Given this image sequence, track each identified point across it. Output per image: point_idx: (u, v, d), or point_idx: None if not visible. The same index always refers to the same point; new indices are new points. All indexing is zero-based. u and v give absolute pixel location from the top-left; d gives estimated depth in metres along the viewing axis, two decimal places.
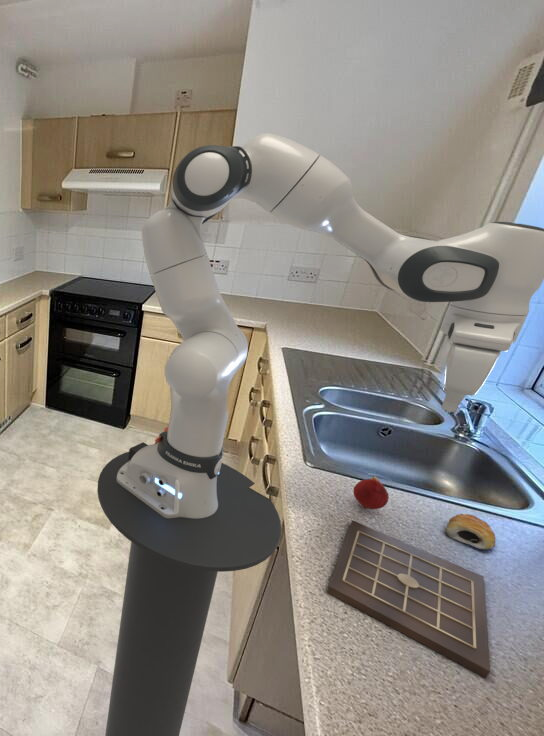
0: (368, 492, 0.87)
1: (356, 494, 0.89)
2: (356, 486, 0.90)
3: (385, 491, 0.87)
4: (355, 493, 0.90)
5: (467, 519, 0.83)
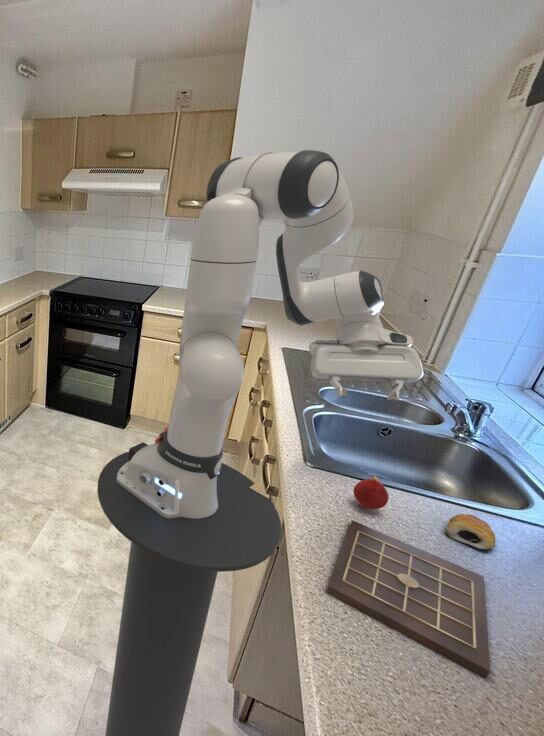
0: (368, 492, 0.87)
1: (356, 494, 0.89)
2: (356, 486, 0.90)
3: (385, 491, 0.87)
4: (355, 493, 0.90)
5: (467, 519, 0.83)
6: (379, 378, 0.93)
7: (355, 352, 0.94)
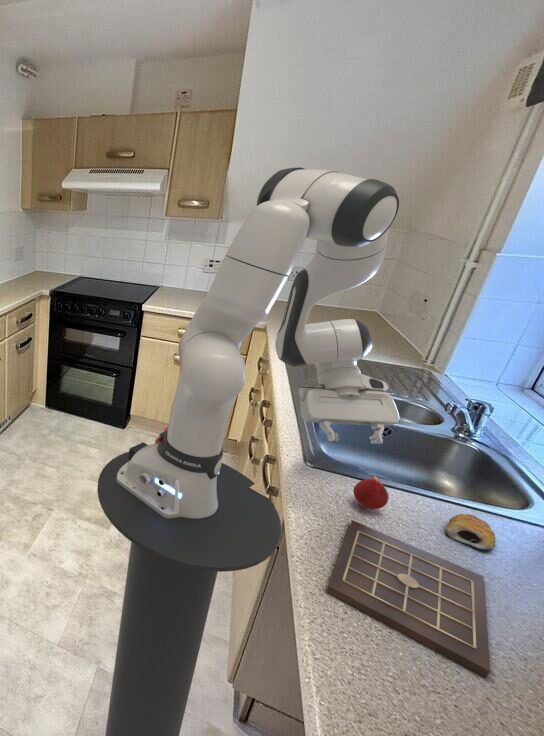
0: (368, 492, 0.87)
1: (356, 494, 0.89)
2: (356, 486, 0.90)
3: (385, 491, 0.87)
4: (355, 493, 0.90)
5: (467, 519, 0.83)
6: (360, 422, 0.97)
7: (340, 397, 0.97)
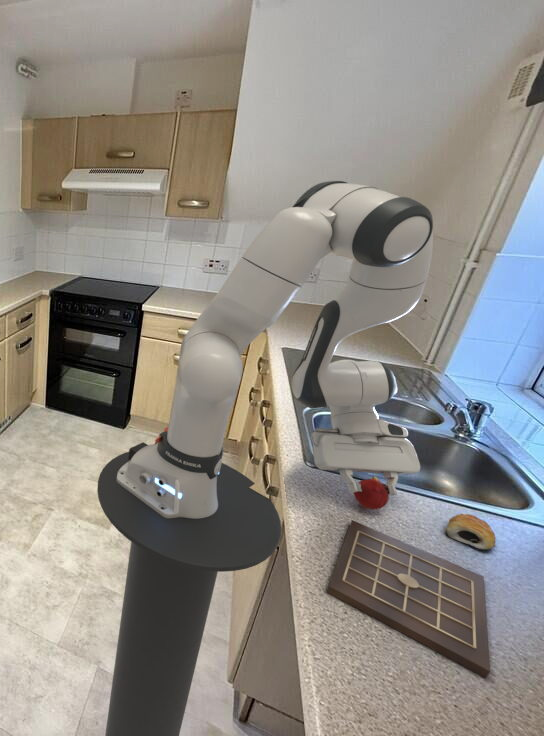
0: (368, 492, 0.87)
1: (356, 494, 0.89)
2: None
3: (385, 491, 0.87)
4: (355, 493, 0.90)
5: (467, 519, 0.83)
6: None
7: (357, 443, 0.91)
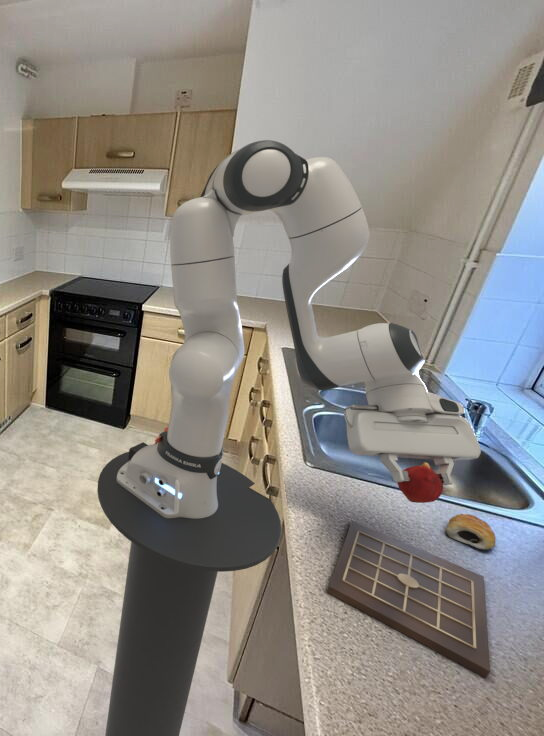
0: (418, 481, 0.70)
1: (401, 485, 0.72)
2: None
3: (439, 480, 0.70)
4: (400, 483, 0.73)
5: (467, 519, 0.83)
6: None
7: (402, 422, 0.74)
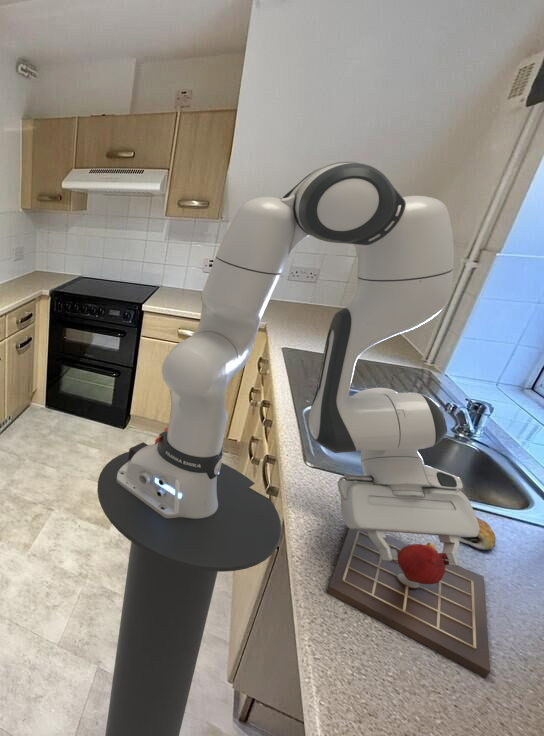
0: (422, 562, 0.68)
1: (402, 562, 0.70)
2: (403, 551, 0.70)
3: (442, 564, 0.67)
4: (401, 560, 0.70)
5: None
6: None
7: (397, 496, 0.72)
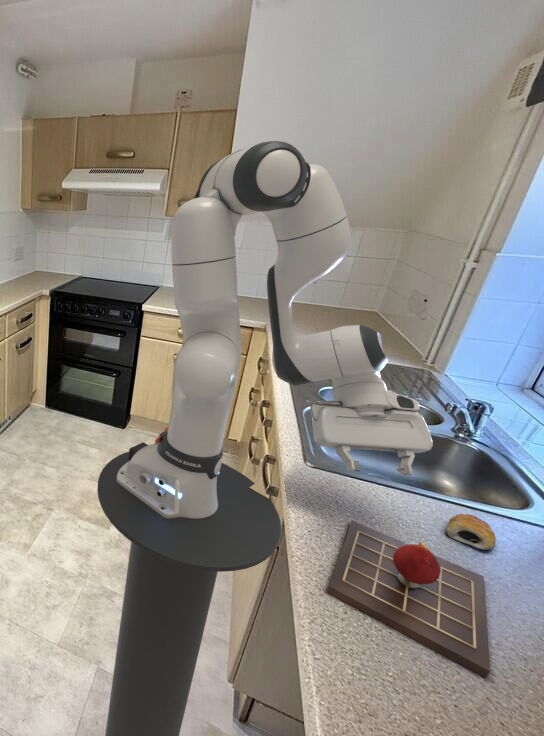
0: (415, 563, 0.68)
1: (397, 564, 0.70)
2: (397, 553, 0.71)
3: (436, 563, 0.67)
4: (396, 562, 0.70)
5: (467, 519, 0.83)
6: (385, 447, 0.81)
7: (362, 417, 0.81)
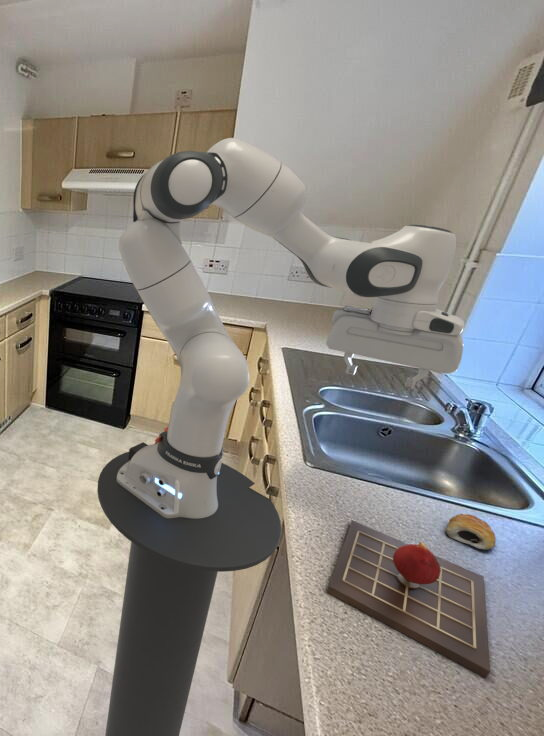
0: (415, 563, 0.68)
1: (397, 564, 0.70)
2: (397, 553, 0.71)
3: (436, 563, 0.67)
4: (396, 562, 0.70)
5: (467, 519, 0.83)
6: None
7: (381, 331, 0.80)
